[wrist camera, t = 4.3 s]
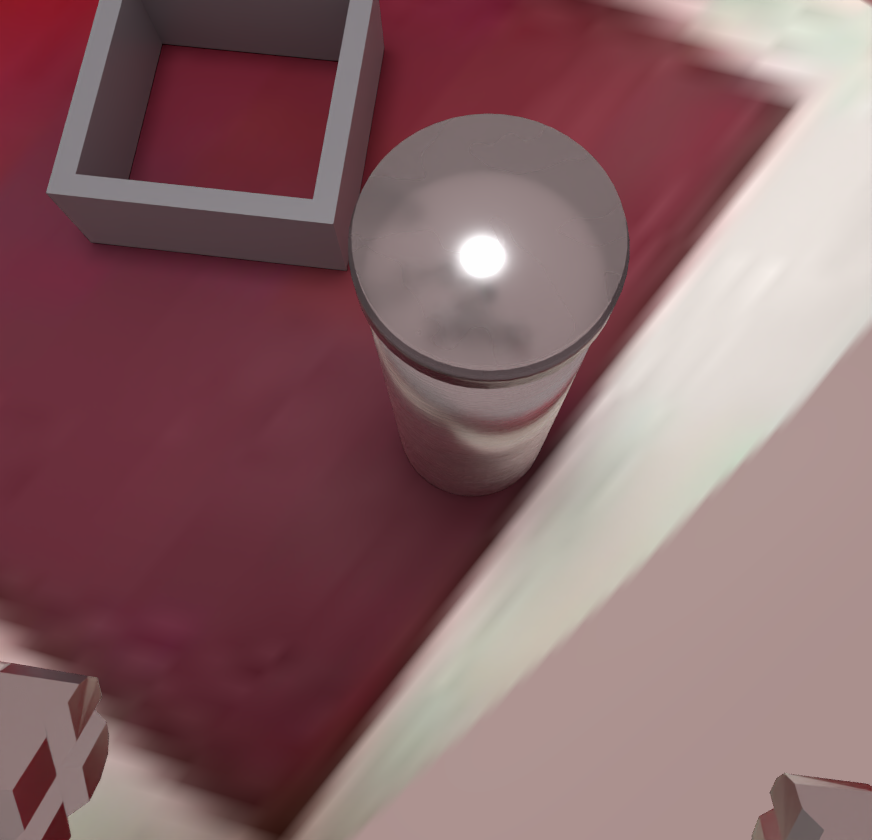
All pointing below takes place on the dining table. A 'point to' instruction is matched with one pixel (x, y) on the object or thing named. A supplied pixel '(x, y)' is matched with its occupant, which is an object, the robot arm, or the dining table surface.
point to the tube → (484, 288)
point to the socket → (203, 207)
